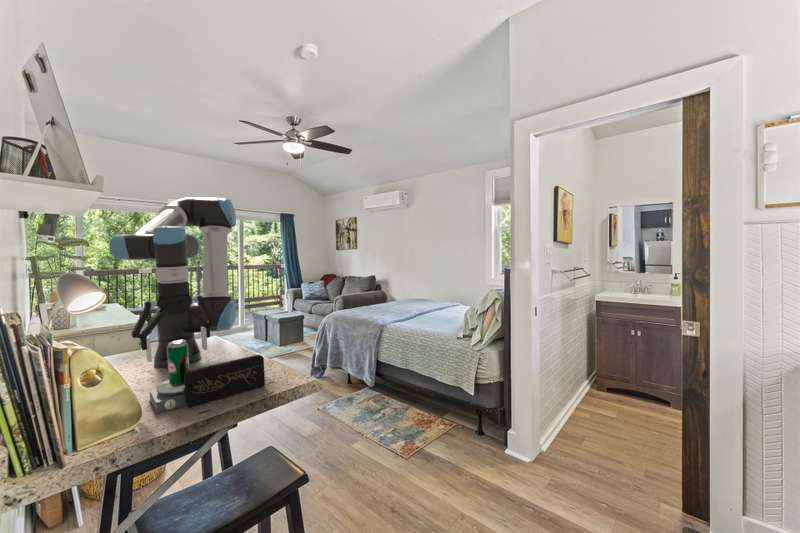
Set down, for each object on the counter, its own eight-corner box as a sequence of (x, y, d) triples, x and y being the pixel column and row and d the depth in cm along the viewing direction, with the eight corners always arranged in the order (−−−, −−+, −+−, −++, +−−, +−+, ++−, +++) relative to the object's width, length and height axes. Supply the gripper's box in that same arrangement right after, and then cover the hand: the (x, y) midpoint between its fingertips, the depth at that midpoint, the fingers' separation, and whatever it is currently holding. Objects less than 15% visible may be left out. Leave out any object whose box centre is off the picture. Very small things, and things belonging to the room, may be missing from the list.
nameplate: (262, 384, 108) (261, 353, 107) (265, 386, 106) (263, 355, 105) (186, 406, 94) (183, 371, 93) (187, 409, 92) (185, 373, 92)
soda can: (166, 383, 98) (164, 342, 97) (186, 377, 101) (183, 338, 101) (172, 387, 94) (170, 345, 93) (192, 381, 98) (190, 341, 97)
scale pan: (153, 388, 98) (153, 382, 98) (196, 377, 106) (196, 372, 106) (160, 400, 90) (160, 394, 90) (206, 387, 98) (206, 382, 98)
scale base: (150, 400, 98) (149, 390, 97) (200, 386, 107) (200, 377, 106) (157, 414, 89) (156, 403, 89) (211, 397, 98) (211, 387, 98)
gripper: (117, 287, 84) (124, 370, 86) (224, 278, 102) (228, 347, 104) (114, 284, 90) (121, 362, 92) (217, 276, 107) (221, 341, 109)
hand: (178, 354), depth 98 cm, fingers open, 13 cm apart
